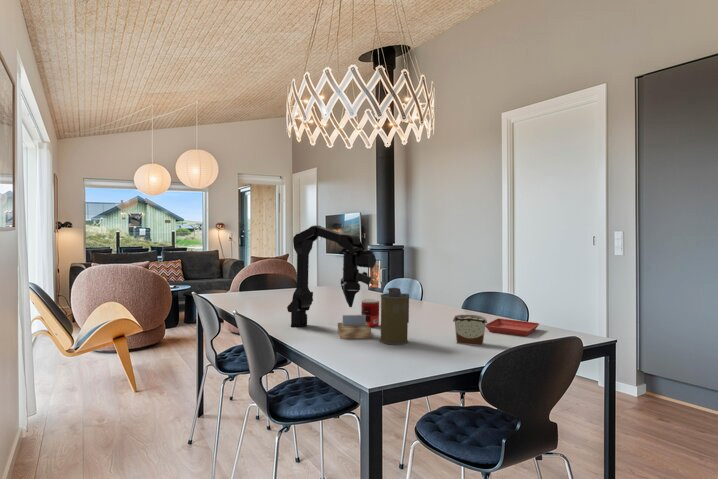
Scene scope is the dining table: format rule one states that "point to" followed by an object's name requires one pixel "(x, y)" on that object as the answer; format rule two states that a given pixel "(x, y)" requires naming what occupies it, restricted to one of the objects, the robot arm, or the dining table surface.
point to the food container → (470, 329)
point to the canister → (394, 317)
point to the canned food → (371, 311)
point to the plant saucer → (511, 327)
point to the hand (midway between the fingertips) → (349, 305)
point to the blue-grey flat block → (354, 320)
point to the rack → (354, 331)
